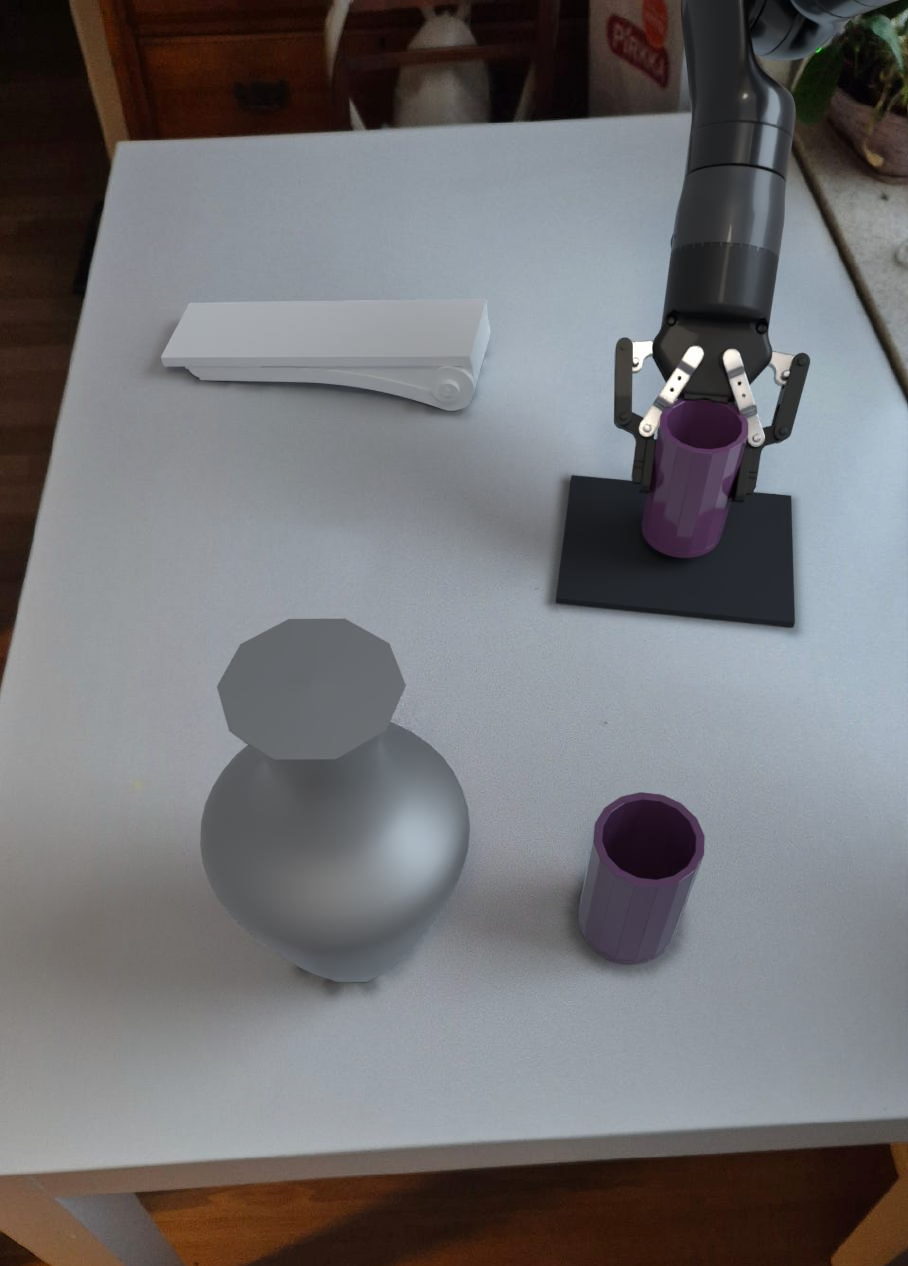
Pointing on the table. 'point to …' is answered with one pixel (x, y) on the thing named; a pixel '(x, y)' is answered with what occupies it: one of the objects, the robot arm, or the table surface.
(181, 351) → the wall bracket
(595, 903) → the plum cup
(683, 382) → the robot arm
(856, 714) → the table surface
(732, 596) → the mat
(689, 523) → the plum cup
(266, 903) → the vase
